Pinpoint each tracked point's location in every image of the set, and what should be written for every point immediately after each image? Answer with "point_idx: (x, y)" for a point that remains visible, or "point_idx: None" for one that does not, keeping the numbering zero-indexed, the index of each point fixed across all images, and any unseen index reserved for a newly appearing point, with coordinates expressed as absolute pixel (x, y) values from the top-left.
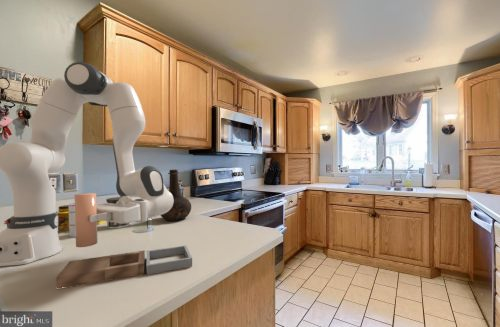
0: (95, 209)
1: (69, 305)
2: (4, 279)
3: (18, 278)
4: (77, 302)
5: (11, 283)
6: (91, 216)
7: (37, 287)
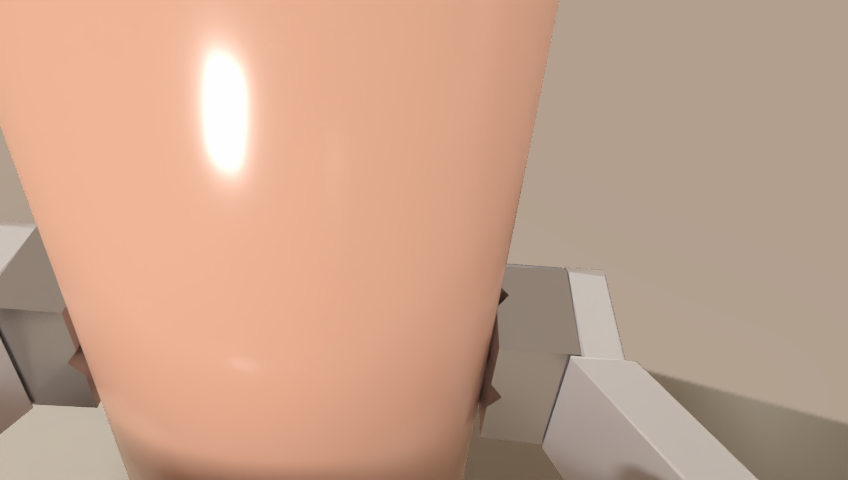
0: (55, 271)
1: (54, 411)
2: (807, 413)
3: (759, 452)
4: (29, 444)
5: (693, 406)
6: (6, 231)
7: (480, 441)
